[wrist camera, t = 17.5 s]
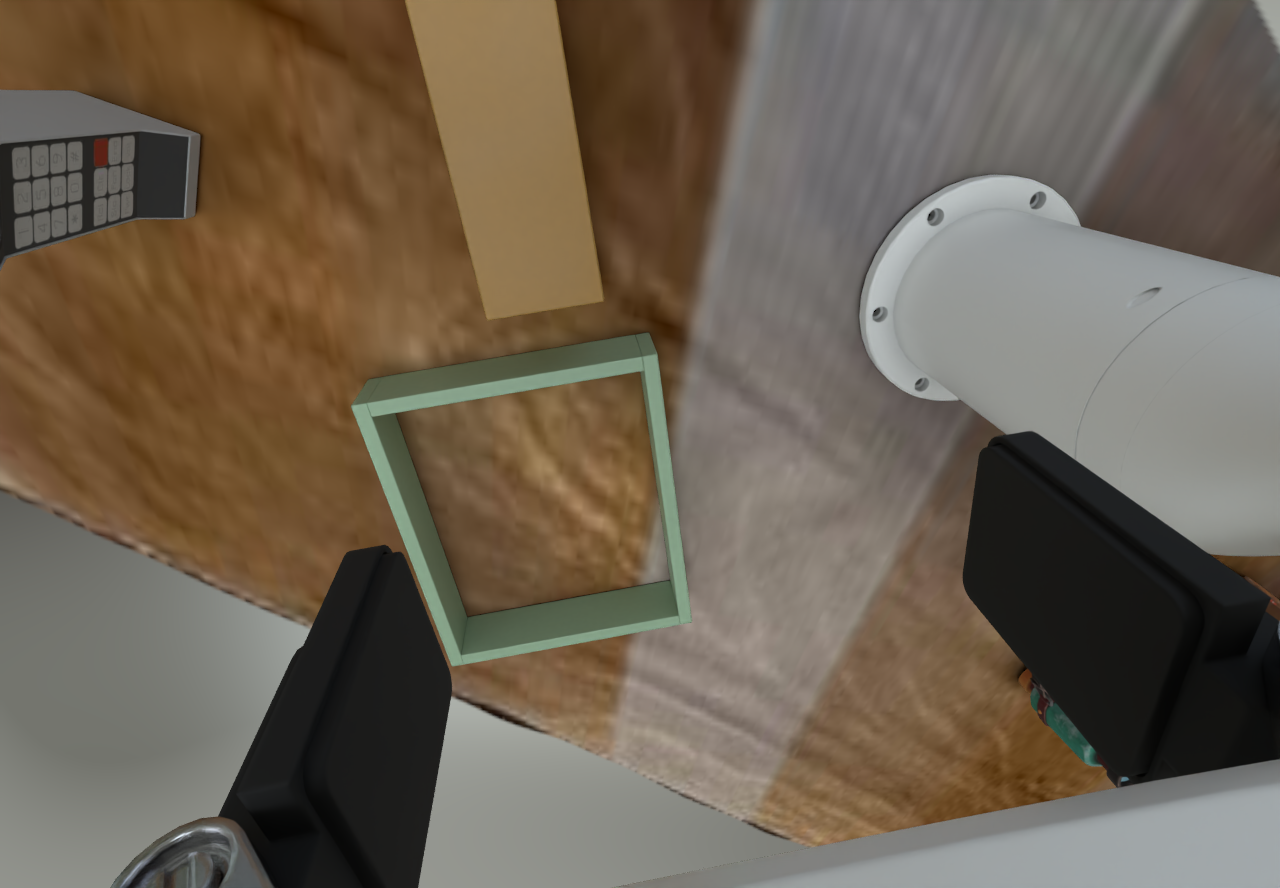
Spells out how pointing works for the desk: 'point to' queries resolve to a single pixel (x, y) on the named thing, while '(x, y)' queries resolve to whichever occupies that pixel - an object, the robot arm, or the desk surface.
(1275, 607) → the tin
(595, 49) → the desk surface
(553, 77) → the tan wooden plank
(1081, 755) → the binoculars
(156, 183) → the vintage mobile phone
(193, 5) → the desk surface
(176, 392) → the desk surface
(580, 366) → the green rectangular open frame
